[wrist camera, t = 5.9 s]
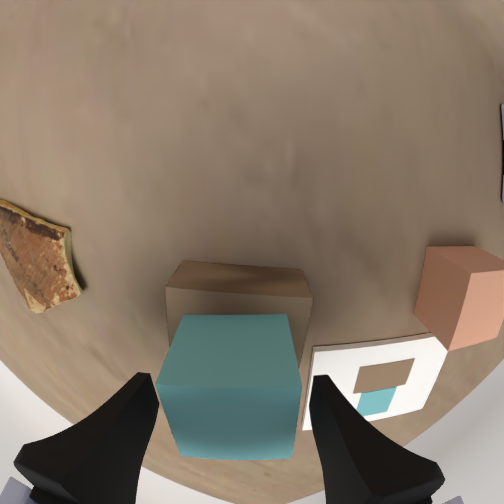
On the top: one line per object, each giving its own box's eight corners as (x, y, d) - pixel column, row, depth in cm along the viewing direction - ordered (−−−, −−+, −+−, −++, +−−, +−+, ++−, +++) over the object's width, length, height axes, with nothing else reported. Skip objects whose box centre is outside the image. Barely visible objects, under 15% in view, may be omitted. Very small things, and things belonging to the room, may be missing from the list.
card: (450, 328, 18) (454, 333, 18) (419, 404, 21) (422, 409, 20) (313, 346, 18) (315, 352, 18) (301, 425, 21) (302, 431, 21)
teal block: (286, 313, 13) (302, 386, 9) (283, 387, 15) (291, 457, 10) (183, 314, 14) (155, 384, 9) (196, 387, 15) (181, 456, 10)
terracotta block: (474, 245, 16) (517, 268, 12) (460, 305, 18) (496, 337, 13) (425, 246, 16) (471, 273, 12) (413, 312, 18) (447, 351, 13)
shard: (-8, 192, 15) (-22, 196, 14) (44, 142, 15) (28, 142, 13) (42, 309, 19) (30, 319, 17) (101, 282, 18) (89, 293, 16)
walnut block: (300, 268, 17) (313, 298, 13) (285, 359, 19) (291, 399, 15) (183, 259, 17) (165, 286, 13) (186, 352, 19) (174, 390, 15)
